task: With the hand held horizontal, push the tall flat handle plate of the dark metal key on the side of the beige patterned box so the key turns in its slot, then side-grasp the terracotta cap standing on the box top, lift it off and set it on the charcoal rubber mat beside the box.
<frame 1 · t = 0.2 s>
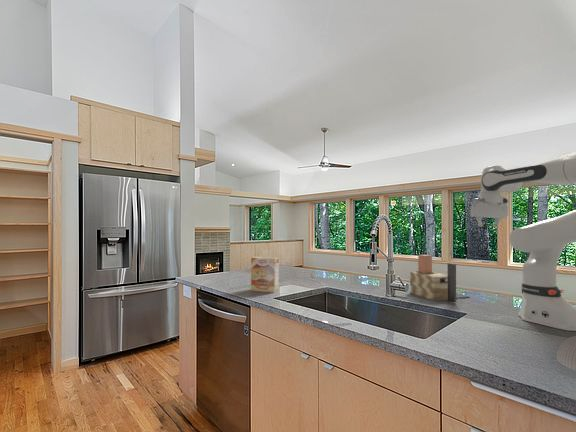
hand: (487, 227, 154), 38 cm above the worktop, tool pointing down, fingers open, 8 cm apart
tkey: (449, 281, 160), point 10 cm above the worktop, hinge at 0.0°
coffeecake box: (264, 291, 182), on the worktop
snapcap: (425, 272, 176), point 12 cm above the worktop, touching beige patterned box
pad: (456, 296, 171), on the worktop
beige patterned box: (430, 295, 172), on the worktop
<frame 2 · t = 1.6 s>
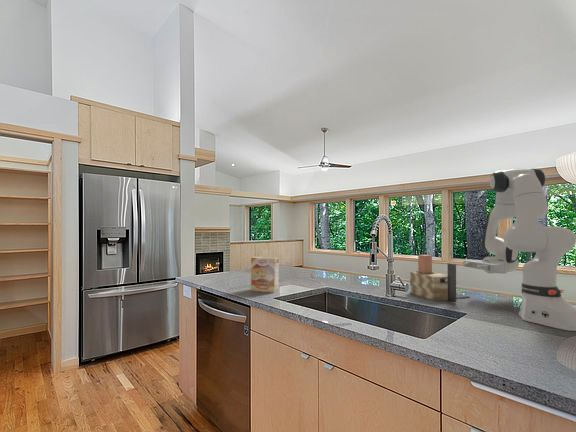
hand: (471, 266, 162), 18 cm above the worktop, tool horizontal, fingers open, 7 cm apart
nothing on the worktop moved.
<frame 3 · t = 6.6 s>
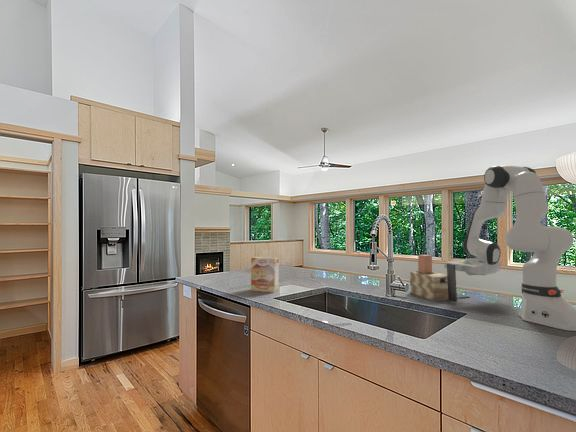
hand: (451, 267, 158), 17 cm above the worktop, tool horizontal, fingers closed, pressing on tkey
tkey: (449, 281, 160), point 10 cm above the worktop, hinge at 3.5°, touching gripper
everything else where it was.
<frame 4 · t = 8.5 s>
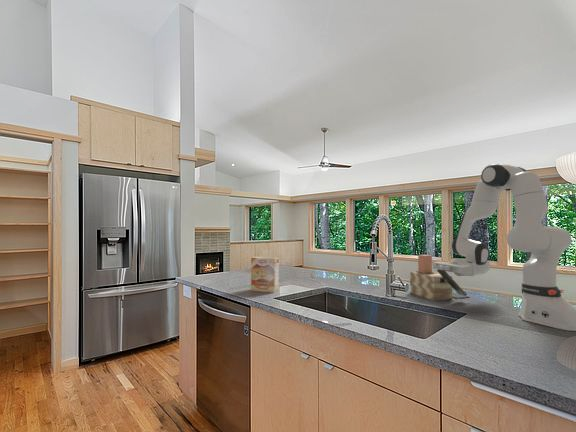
hand: (439, 268, 156), 18 cm above the worktop, tool horizontal, fingers closed, pressing on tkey
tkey: (449, 281, 160), point 10 cm above the worktop, hinge at 47.5°, touching gripper
everything else where it was.
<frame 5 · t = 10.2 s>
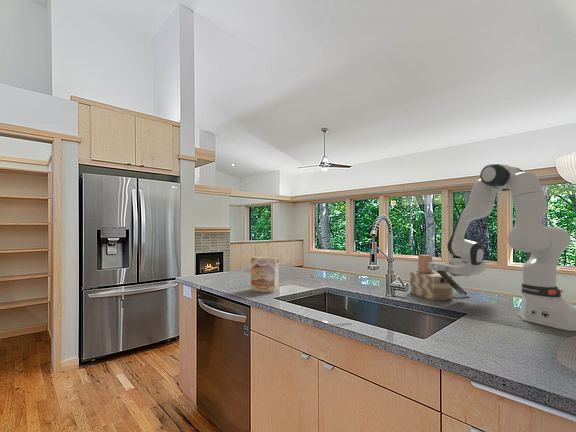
hand: (434, 268, 155), 18 cm above the worktop, tool horizontal, fingers closed, pressing on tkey
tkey: (449, 281, 160), point 10 cm above the worktop, hinge at 50.1°, touching gripper
everything else where it was.
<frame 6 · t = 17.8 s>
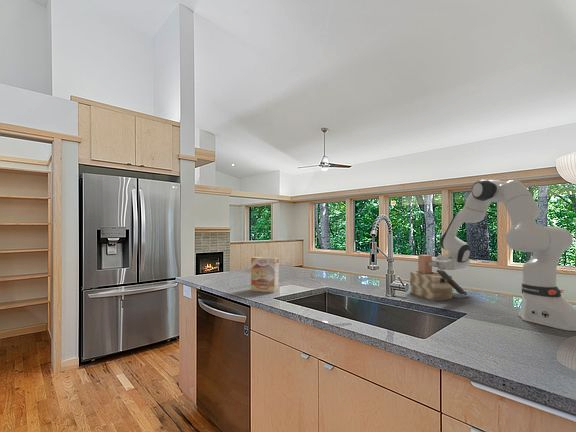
hand: (423, 263, 176), 18 cm above the worktop, tool horizontal, fingers closed on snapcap, 5 cm apart
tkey: (449, 281, 160), point 10 cm above the worktop, hinge at 50.3°
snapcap: (425, 272, 176), point 12 cm above the worktop, touching gripper, beige patterned box
everything else where it was.
when the fingers open (8 cm above the worktop, at t = 24.8 s): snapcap drops 1 cm, resting on pad.
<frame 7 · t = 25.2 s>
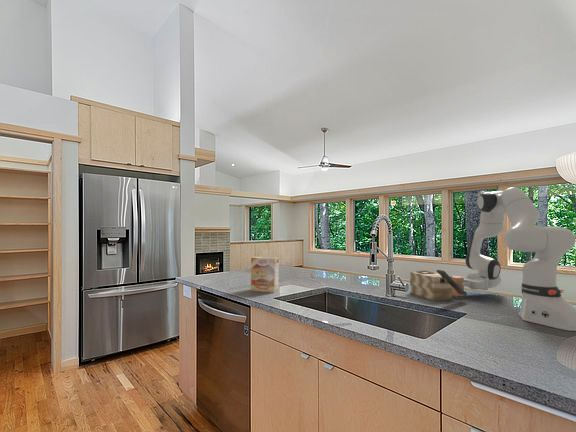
hand: (454, 282, 171), 8 cm above the worktop, tool horizontal, fingers open, 8 cm apart
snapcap: (456, 295, 171), point 1 cm above the worktop, touching pad
everything else where it was.
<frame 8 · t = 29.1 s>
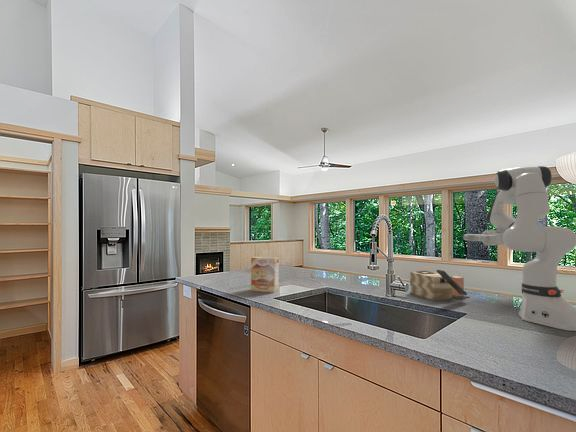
hand: (471, 238, 175), 32 cm above the worktop, tool horizontal, fingers open, 8 cm apart
nothing on the worktop moved.
at the end: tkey at +50° (first picture: +0°); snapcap inside the target area on the pad (0.0 cm from its centre), point 0.6 cm above the pad's base; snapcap tilted 0° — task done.
